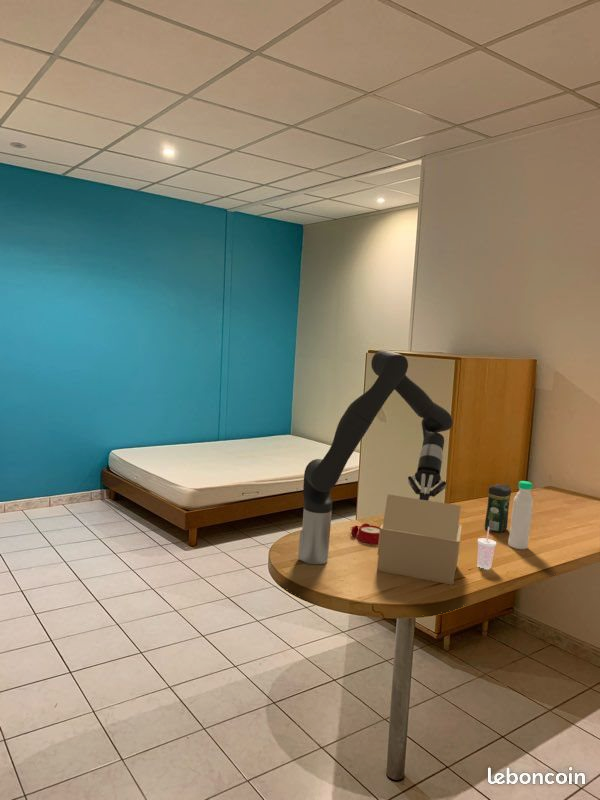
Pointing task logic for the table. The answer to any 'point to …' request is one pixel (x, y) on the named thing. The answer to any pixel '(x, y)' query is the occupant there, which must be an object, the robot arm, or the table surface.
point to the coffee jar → (498, 507)
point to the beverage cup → (485, 552)
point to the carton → (418, 555)
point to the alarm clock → (366, 533)
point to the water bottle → (521, 517)
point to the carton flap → (422, 517)
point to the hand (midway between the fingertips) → (423, 505)
